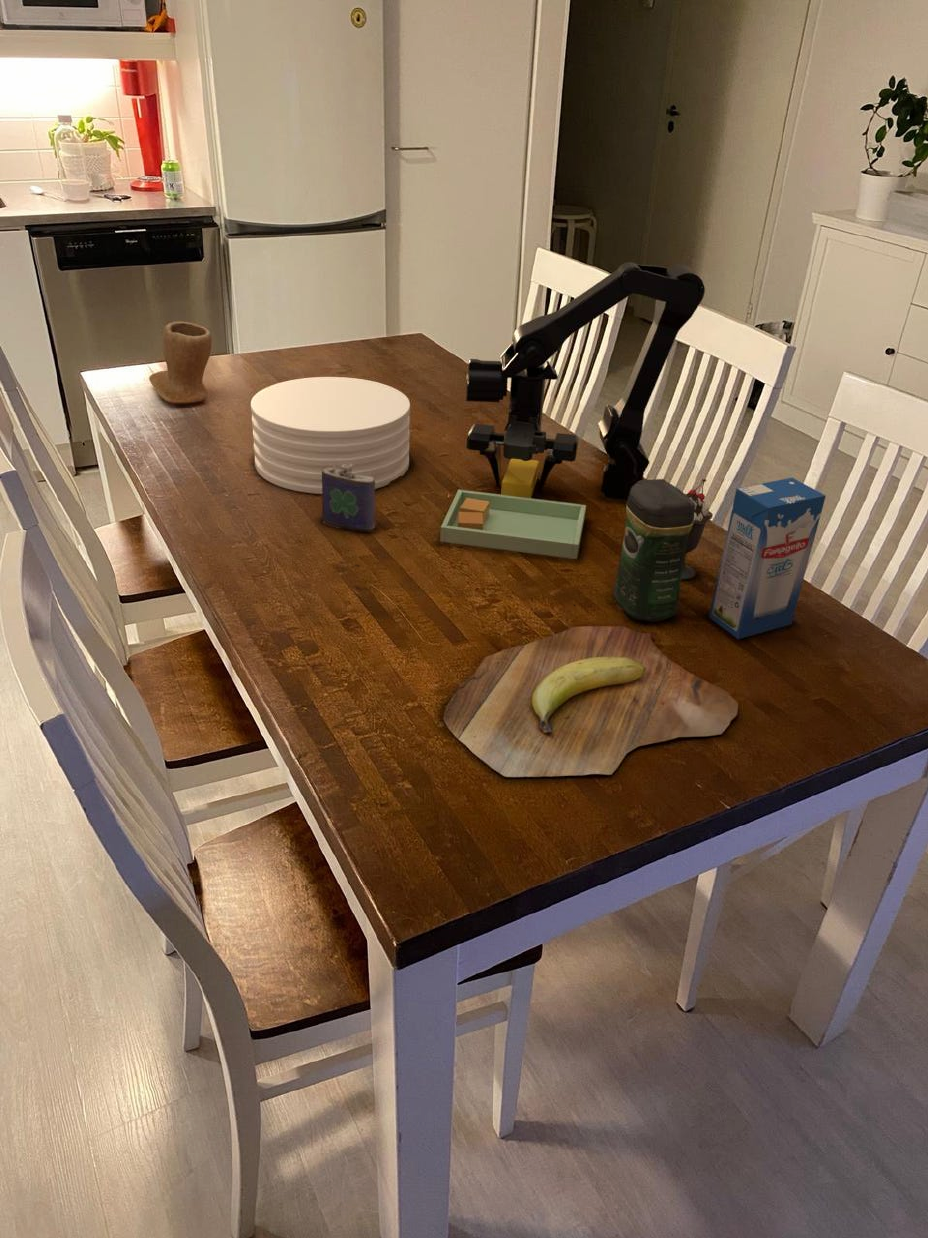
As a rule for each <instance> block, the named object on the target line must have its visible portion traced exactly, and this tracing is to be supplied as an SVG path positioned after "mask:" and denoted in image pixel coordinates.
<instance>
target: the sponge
mask: <svg viewBox="0 0 928 1238" xmlns="http://www.w3.org/2000/svg"><path fill="white" fill-rule="evenodd" d="M539 467H540V461H539V460H535V459H531V460H529V461H523V460H520V459H509V463H508V465H507V468H506V471H505V473H504V476H503V478H502V481H501V491H500V495H507V496H515V497H523V498H531V499H532V498H533V494H534V491H535V488H536V484H537V481H538V477H539V476H538V475H539Z"/></svg>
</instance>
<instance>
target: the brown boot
mask: <svg viewBox="0 0 928 1238" xmlns="http://www.w3.org/2000/svg"><path fill="white" fill-rule="evenodd" d="M212 342H213V341H212V334H211V332H210V331H209V330H208V328H205V327H204V326H202V325H199V324H195V323H192V322H187V321H172V322H169V323H167V324H166V325H165V327H164V329H163V333H162V353H163V357H164V360H165V361H164V362H165V364H166V368H167V370H161V371H157V372H154V373H152V374H151V375H149V377H148V381H149V382H150V384H151V385H152V387H153V388H154V390H155V392H157V393H156V394H158V395H159V396H160V397H161V398H162V399H163V400H165V401H166V402H168V403H172V404H193V403H198V402H202V401H206V400H207V399H208V397H209V392H208V389H207V387H206V386H205V384H204V382H203V378H204V374H205V369H206V367H207V364H208V361H209V359H210V356H211V352H212Z"/></svg>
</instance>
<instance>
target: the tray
mask: <svg viewBox="0 0 928 1238" xmlns="http://www.w3.org/2000/svg"><path fill="white" fill-rule="evenodd" d="M466 498H471V499H477V500H483V501H490V508H489V516H488V517H487V519H486V521H485V522H484V524H483V530H477V529H469V528H462V527H458V512H460V507H461V506H462V504H463V503H464V501H465V500H466ZM586 509H587V505H586V504H579V503H572V502H564V501H555V500H547V499H538V498H532V497H531V498H523V497H515V496H507V495H501V494H500V493H499V494H497V493H489V492H483V491H482V492H481V491H473V490H465V489H458V490H457V492H456V494H455V496H454V498H453V500H452V502H451V504H450V506H449V509H448V511H447V513H446V515H445V517H444V519H443V522H442V524H441V525H440V537H439V542H440V543H442V542H443V543H448V544H449V543H450V544H457V545H465V546H473V547H480V548H487V549H497V550H502V551H503V550H504V551H512V552H519V553H526V554H534V555H541V556H542V555H543V556H550V557H556V558H566V559H573V560H578V555H579V549H580V545H581V540H582V535H583V534H582V533H583V529H584V524H585V519H586V511H587V510H586Z"/></svg>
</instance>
